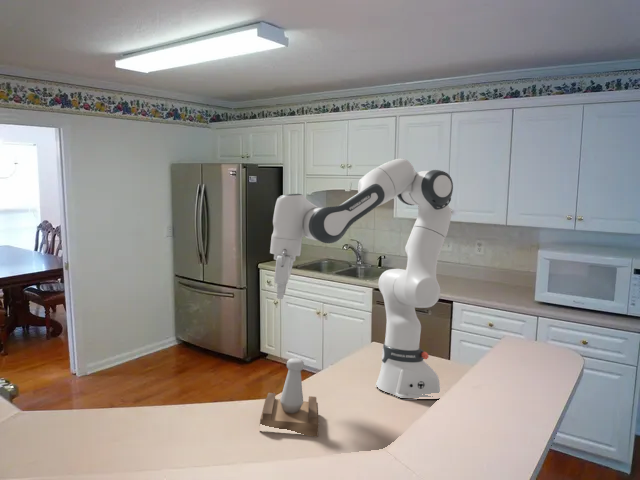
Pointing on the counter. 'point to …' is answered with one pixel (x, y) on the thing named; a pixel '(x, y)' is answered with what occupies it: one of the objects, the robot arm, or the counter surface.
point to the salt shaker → (293, 387)
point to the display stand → (291, 416)
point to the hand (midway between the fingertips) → (281, 296)
